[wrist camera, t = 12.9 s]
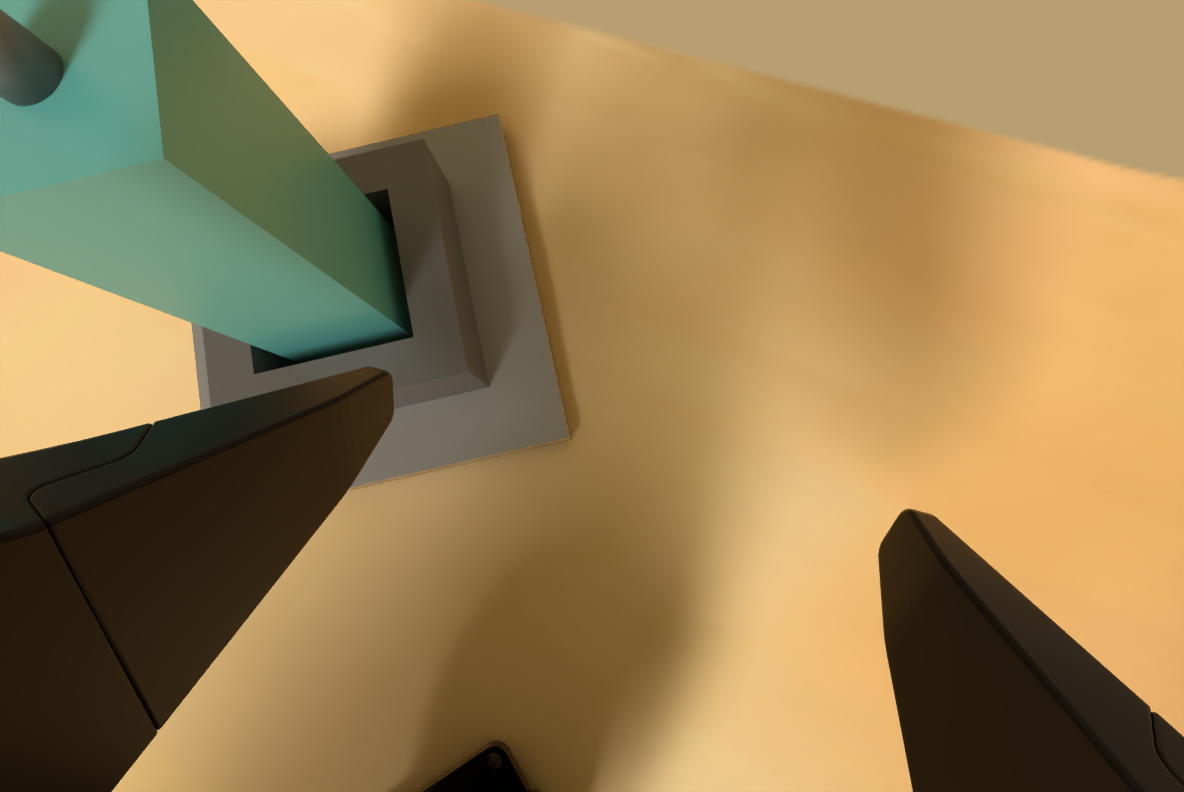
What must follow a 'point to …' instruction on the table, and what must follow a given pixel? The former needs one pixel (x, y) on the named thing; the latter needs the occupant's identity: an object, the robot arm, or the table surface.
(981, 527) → the table surface
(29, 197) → the plug
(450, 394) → the socket
